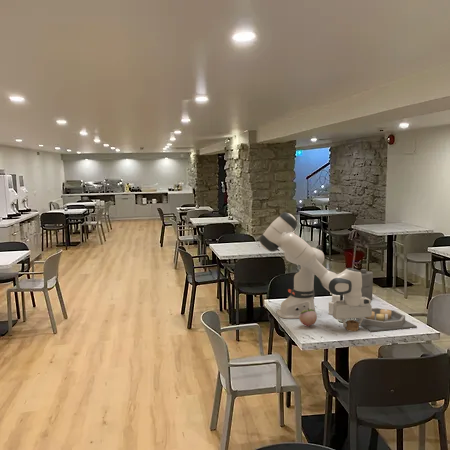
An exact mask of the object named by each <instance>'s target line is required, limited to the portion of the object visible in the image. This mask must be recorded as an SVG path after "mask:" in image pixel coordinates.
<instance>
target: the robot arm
mask: <svg viewBox="0 0 450 450" xmlns="http://www.w3.org/2000/svg"><path fill="white" fill-rule="evenodd" d="M297 227H298V221H297V219H296V217H295V216H294V215H293V214H291V213H289V212H287V211H284V212H282V213H280V214H279V216H278V217H276V219H274V220H273V221H272V222H271V223H270V224H269V226H268V227H267V228H266V229H265V231H264V232H263V233H262V234H261V236H260V237H259V243H260V245H261V247H262V248H263V249H265V250H266V251H269V252H271V253H272V252H276V251H278V252H279V251H280V250H282V251H283V252H284V254H283V255H284V259H285V260H286V261H287V262H289V263H292V264H294V265H299V266H300V268H299V271H298V272H296V273H295V274H294V275H293V288H292V289H290V288H288V289H287V292H288V293H289V294H290V295H289V296H287V298H286V299H285V300H283V301H282V302H281V304H280V309H277V310H276V312H275V313H276V315H277V316H278V317H280V318H282V319H287V320H288V319H289V320H293V319H299V315H300V313H301V312H302V311H303V310H308V308H309V309H312V310H314V312H315V313H316V314H317V312H316V307H315V300H314V299H315V289H314V285H315V284H314V282H315V276H316V277H317V278H318V280H319V283H320V284H321V287H322V288H323V289H325V290H327V291H328V292H330V293H331V294H334V295H343V301H336V302H335V303H334V306H333V307H334V310H333V315H332V317H333V319H335V320H341V322H342V325H343V327H344V328H345V327H347V323H346V321H347V320H351V318H359V321H358V323H359V327H362V326H361V322H362V320H363V317H371V315H372V308H373V306H372V300H370V299H368V298H366V297H364V296H362V293H361V288H362V275H361V270H359V269H356V268H354V267H347V268H345V269H344V270H343V271H342V272H340V273H337V272H335V271H333V270H330V269H328V268H326V267H325V266H324V265H323V264H324V262H325V254H324V252H323V250H321V249H319V248H316V247H312V246H311V245H310V244H309V243H307V241H306V240H305V239H302V237H300V235H297V234H296V233H295V232H294V230H295V229H296V228H297ZM295 231H296V230H295ZM279 248H280V249H279Z"/></svg>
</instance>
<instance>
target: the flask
mask: <svg viewBox="0 0 450 450" xmlns="http://www.w3.org/2000/svg"><path fill="white" fill-rule="evenodd" d="M360 272H361V275H362V288H361V293H362V296H364V297H366V298H368V299H370V300H371V301H372V300H373V290H374V289H373V288H374V287H373V283H374V282H373V281H374V280H373V279H374V273H373V271H370V270H369V271H368V270H367V269H366V268H361V269H360Z"/></svg>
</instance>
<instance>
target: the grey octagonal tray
mask: <svg viewBox="0 0 450 450" xmlns="http://www.w3.org/2000/svg"><path fill="white" fill-rule="evenodd" d="M355 321H357V322H358V321H359V318H356V320H355ZM360 327H362V328H363V329H365V330H366V331H368V332H370V333H376V332H377V333H378V332H379V333H380V332H389V331H398V330H397V329H401V330H410V328H412V329H417V328H418V327H417V325H415V324H414V323H411V322H409V321H408V320H406V315H404V314H402V313H400V312H399V311H396V310H393V309H388V308H380V307H372V315H371V317H363V320H362V322H361V326H360Z"/></svg>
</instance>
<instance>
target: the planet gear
mask: <svg viewBox="0 0 450 450" xmlns="http://www.w3.org/2000/svg"><path fill="white" fill-rule="evenodd" d="M345 323H347V327H344V328H345V329H346V331H348V332H357V331H359V328H360V326H359V323H358V322H357V321H354V320H351V319H347V320H346V321H345Z"/></svg>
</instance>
